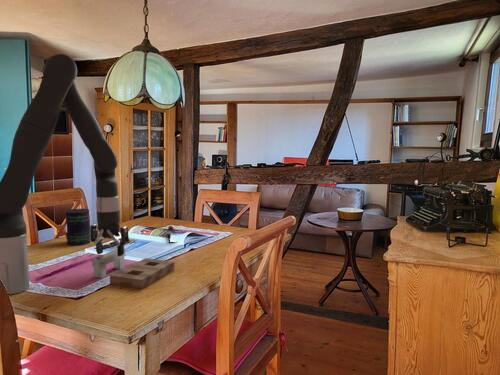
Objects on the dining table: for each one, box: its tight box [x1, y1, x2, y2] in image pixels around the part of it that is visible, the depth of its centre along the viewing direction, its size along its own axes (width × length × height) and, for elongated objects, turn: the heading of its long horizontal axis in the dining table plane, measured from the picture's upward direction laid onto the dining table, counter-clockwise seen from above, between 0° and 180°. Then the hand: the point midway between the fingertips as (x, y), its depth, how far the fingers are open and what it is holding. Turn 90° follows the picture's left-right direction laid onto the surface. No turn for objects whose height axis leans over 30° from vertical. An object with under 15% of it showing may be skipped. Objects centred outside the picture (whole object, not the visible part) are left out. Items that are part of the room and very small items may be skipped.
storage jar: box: [65, 208, 91, 247], centre depth 175 cm, size 10×10×15 cm
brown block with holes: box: [109, 257, 175, 290], centre depth 133 cm, size 20×12×3 cm, turn 161°
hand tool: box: [167, 225, 175, 232], centre depth 187 cm, size 19×4×5 cm, turn 13°
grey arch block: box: [91, 248, 126, 279], centre depth 137 cm, size 14×3×6 cm, turn 161°
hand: (110, 254), depth 137 cm, fingers open, 8 cm apart
